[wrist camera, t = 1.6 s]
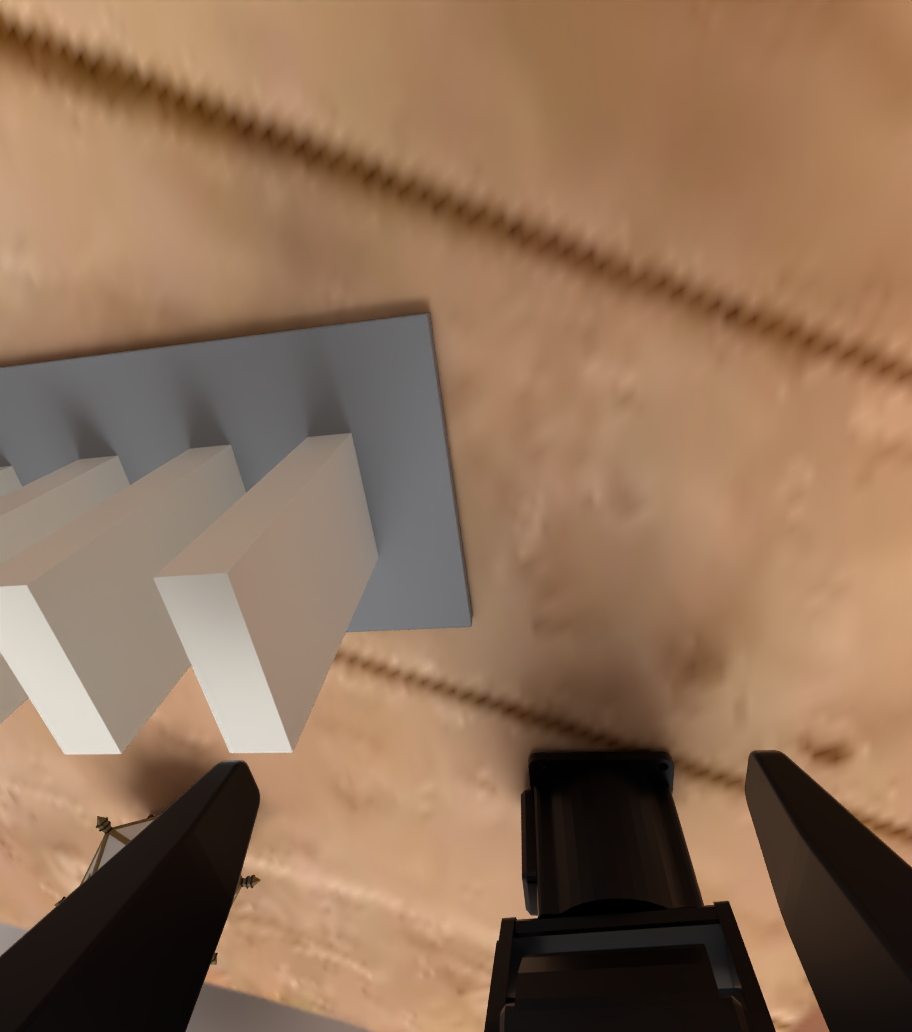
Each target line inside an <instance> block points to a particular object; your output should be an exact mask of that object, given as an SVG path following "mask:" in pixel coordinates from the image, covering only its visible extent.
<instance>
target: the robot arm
mask: <svg viewBox="0 0 912 1032" xmlns="http://www.w3.org/2000/svg"><path fill="white" fill-rule="evenodd" d="M528 761H529V776H530V786H531V790H525V791H524V792H523V793H522V794H521V830H522V881H523V889H524V897H525V905H526V910H527V911H528V912H529V914H530V915H536V916H538V918H535V919H521V920H517V919H516V917H511V918H502V921H501V929H500V936H499V940H498V941H497V943H496V950H495V957H494V964H493V972H492V979H491V986H490V993H489V1000H488V1008H487V1015H486V1022H485V1029H484V1032H776V1031H775V1028H774V1025H773V1022H772V1019H771V1017H770V1014H769V1011H768V1008H767V1005H766V1003H765V1000H764V997H763V994H762V992H761V989H760V986H759V983H758V981H757V978H756V975H755V972H754V970H753V967H752V964H751V961H750V958H749V956H748V953H747V950H746V947H745V945H744V942H743V939H742V936H741V934H740V931H739V928H738V925H737V923H736V920H735V917H734V914H733V911H732V909H731V906H730V903H729V901H720V902H714V905H706V906H704V904H703V900H702V897H701V893H700V890H699V886H698V883H697V879H696V876H695V872H694V869H693V865H692V862H691V859H690V855H689V852H688V848H687V845H686V841H685V838H684V834H683V831H682V827H681V824H680V820H679V817H678V814H677V810H676V807H675V803H674V800H673V796H672V792H673V778H674V764H673V761H672V757H671V756H670V755H669V754H668V753H666V752H570V753H534V754H532V755H531V756H530V757H529V760H528ZM745 795H746V800H747V804H748V808H749V811H750V814H751V817H752V821H753V824H754V827H755V830H756V834H757V837H758V840H759V843H760V847H761V850H762V853H763V857H764V860H765V863H766V866H767V870H768V873H769V876H770V879H771V883H772V886H773V889H774V892H775V896H776V899H777V902H778V905H779V908H780V911H781V914H782V917H783V919H784V922H785V925H786V927H787V930H788V932H789V935H790V937H791V940H792V942H793V945H794V947H795V949H796V952H797V954H798V957H799V959H800V961H801V964H802V966H803V969H804V971H805V973H806V976H807V978H808V981H809V983H810V985H811V988H812V990H813V993H814V995H815V997H816V1000H817V1002H818V1005H819V1007H820V1010H821V1012H822V1014H823V1017H824V1019H825V1021H826V1024H827V1026H828V1029H829V1031H830V1032H912V867H911V866H910V865H909V864H907V863H906V862H905V861H904V860H903V859H902V858H901V857H900V856H899V855H897V854H896V853H895V852H894V851H893V850H892V849H891V848H890V847H888V846H887V845H886V844H885V843H884V842H883V841H882V840H881V839H879V838H878V837H877V836H876V835H875V834H874V833H873V832H872V831H870V830H869V829H868V828H867V827H866V826H865V825H864V824H863V823H861V822H860V821H859V820H858V819H857V818H856V817H855V816H854V815H853V814H851V813H850V812H849V811H848V810H847V809H846V808H845V807H844V806H842V805H841V804H840V803H839V802H838V801H837V800H836V799H835V798H833V797H832V796H831V795H830V794H829V793H828V792H827V791H826V790H824V789H823V788H822V787H821V786H820V785H819V784H818V783H817V782H815V781H814V780H813V779H812V778H811V777H810V776H809V775H808V774H807V773H805V772H804V771H803V770H802V769H801V768H800V767H799V766H798V765H796V764H795V763H794V762H793V761H792V760H791V759H790V758H789V757H787V756H786V755H785V754H784V753H782V752H780V751H776V750H759V751H752V752H751V753H750V755H749V759H748V767H747V774H746V782H745ZM259 804H260V793H259V789H258V787H257V784H256V782H255V780H254V778H253V775H252V773H251V771H250V769H249V767H248V765H247V763H246V762H244V761H242V760H226V761H222V762H220V763H218V764H217V765H215V766H214V767H213V768H212V769H211V770H210V771H209V772H208V773H206V774H205V775H204V776H203V777H202V778H201V779H200V780H198V781H197V782H196V783H195V784H194V785H193V786H192V787H191V788H189V789H188V790H187V791H186V792H185V793H184V794H183V795H182V796H180V797H179V798H178V799H177V800H176V801H175V802H174V803H173V804H171V805H170V806H169V807H168V808H167V809H166V810H165V811H164V812H162V813H161V814H160V815H159V816H158V817H157V818H156V819H154V820H153V821H152V822H151V823H150V824H149V825H148V826H147V827H145V828H144V829H143V830H142V831H141V832H140V833H139V834H138V835H136V836H135V837H134V838H133V839H132V840H131V841H130V842H129V843H127V844H126V845H125V846H124V847H123V848H122V849H121V850H120V851H118V852H117V853H116V854H115V855H114V856H113V857H112V858H110V859H109V860H108V861H107V862H106V863H105V864H104V865H103V866H101V867H100V868H99V869H98V870H97V871H96V872H95V873H94V874H92V875H91V876H90V877H89V878H88V879H87V880H86V881H85V882H83V883H82V884H81V885H80V886H79V887H78V888H77V889H76V890H74V891H73V892H72V893H71V894H70V895H69V896H68V897H66V898H65V899H64V900H63V901H62V902H61V903H60V904H59V905H57V906H56V907H55V908H54V909H53V910H52V911H51V912H50V913H48V914H47V915H46V916H45V917H44V918H43V919H42V920H41V921H39V922H38V923H37V924H36V925H35V926H34V927H33V928H32V929H30V930H29V931H28V932H27V933H26V934H25V935H24V936H23V937H21V938H20V939H19V940H18V941H17V942H16V943H15V944H13V945H12V946H11V947H10V948H9V949H8V950H7V951H6V952H4V953H3V954H2V955H1V956H0V1032H186V1029H187V1026H188V1023H189V1020H190V1018H191V1015H192V1012H193V1010H194V1007H195V1004H196V1001H197V999H198V996H199V993H200V991H201V988H202V985H203V983H204V980H205V977H206V974H207V972H208V969H209V966H210V964H211V961H212V958H213V955H214V953H215V950H216V947H217V945H218V942H219V939H220V936H221V934H222V931H223V928H224V926H225V923H226V920H227V917H228V914H229V912H230V909H231V906H232V903H233V900H234V896H235V893H236V890H237V886H238V883H239V879H240V875H241V871H242V868H243V864H244V860H245V857H246V853H247V849H248V846H249V842H250V838H251V834H252V831H253V827H254V823H255V820H256V816H257V812H258V808H259Z"/></svg>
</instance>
